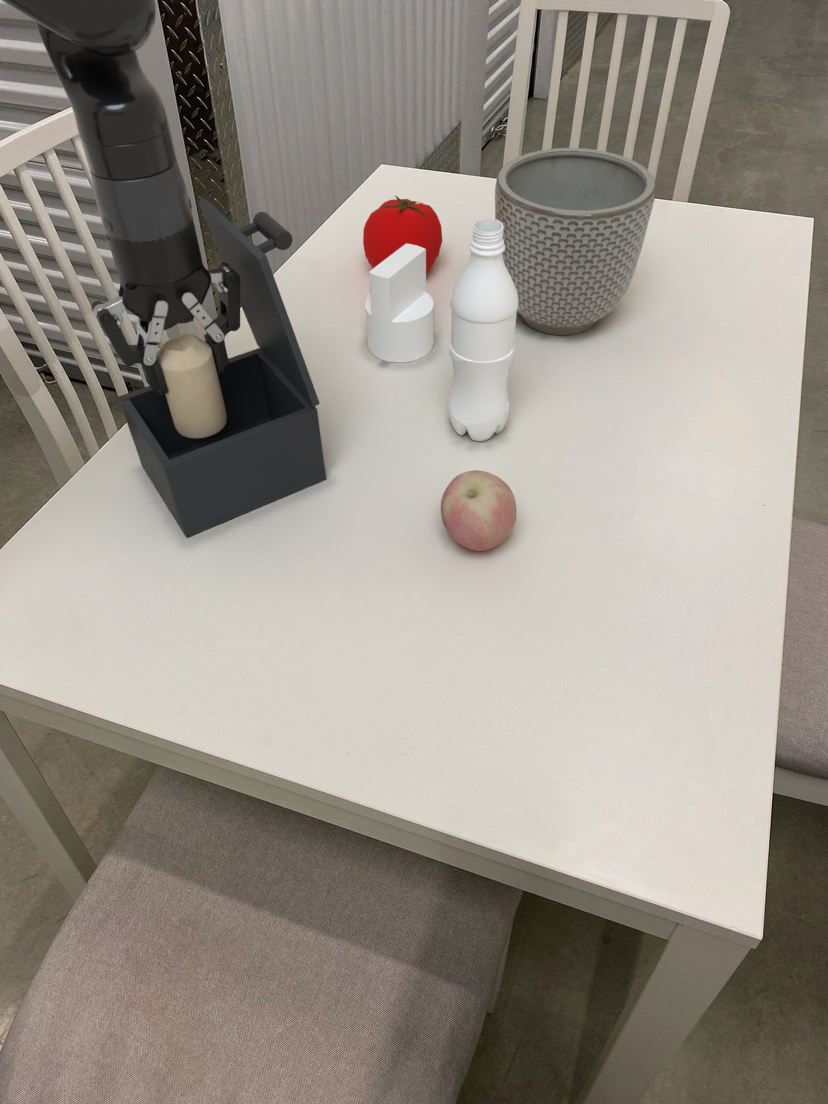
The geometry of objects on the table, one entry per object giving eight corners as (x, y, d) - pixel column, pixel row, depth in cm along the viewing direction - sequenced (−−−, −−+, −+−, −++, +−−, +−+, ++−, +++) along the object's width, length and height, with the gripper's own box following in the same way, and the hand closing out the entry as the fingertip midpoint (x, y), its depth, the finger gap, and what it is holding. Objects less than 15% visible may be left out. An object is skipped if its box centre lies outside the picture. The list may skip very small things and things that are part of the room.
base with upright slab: (410, 370, 107) (408, 285, 98) (354, 350, 110) (347, 266, 101) (446, 337, 112) (447, 254, 103) (391, 319, 115) (387, 237, 106)
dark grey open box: (186, 538, 87) (163, 467, 79) (142, 466, 95) (117, 396, 87) (326, 479, 92) (317, 409, 85) (273, 416, 100) (261, 347, 93)
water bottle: (476, 454, 95) (486, 250, 77) (436, 425, 99) (436, 223, 80) (520, 429, 98) (540, 226, 80) (479, 401, 102) (490, 202, 83)
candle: (207, 400, 89) (187, 319, 82) (238, 421, 87) (220, 339, 80) (164, 423, 87) (140, 341, 80) (195, 446, 84) (172, 363, 77)
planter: (459, 312, 116) (462, 176, 102) (555, 266, 124) (571, 134, 110) (561, 373, 105) (580, 231, 91) (659, 319, 114) (690, 180, 100)
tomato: (382, 299, 119) (378, 224, 111) (354, 264, 126) (348, 191, 118) (456, 281, 122) (457, 207, 114) (424, 248, 129) (424, 176, 121)
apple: (436, 515, 88) (436, 459, 82) (506, 509, 89) (511, 453, 83) (445, 570, 83) (445, 514, 77) (519, 564, 83) (526, 507, 77)
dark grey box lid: (258, 259, 71) (307, 233, 72) (197, 201, 79) (242, 179, 80) (313, 407, 85) (354, 384, 86) (257, 345, 93) (295, 324, 94)
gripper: (208, 181, 75) (240, 341, 88) (52, 222, 70) (109, 385, 83) (242, 211, 71) (270, 375, 83) (77, 257, 66) (134, 424, 78)
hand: (190, 379), depth 83 cm, fingers closed on candle, 5 cm apart
